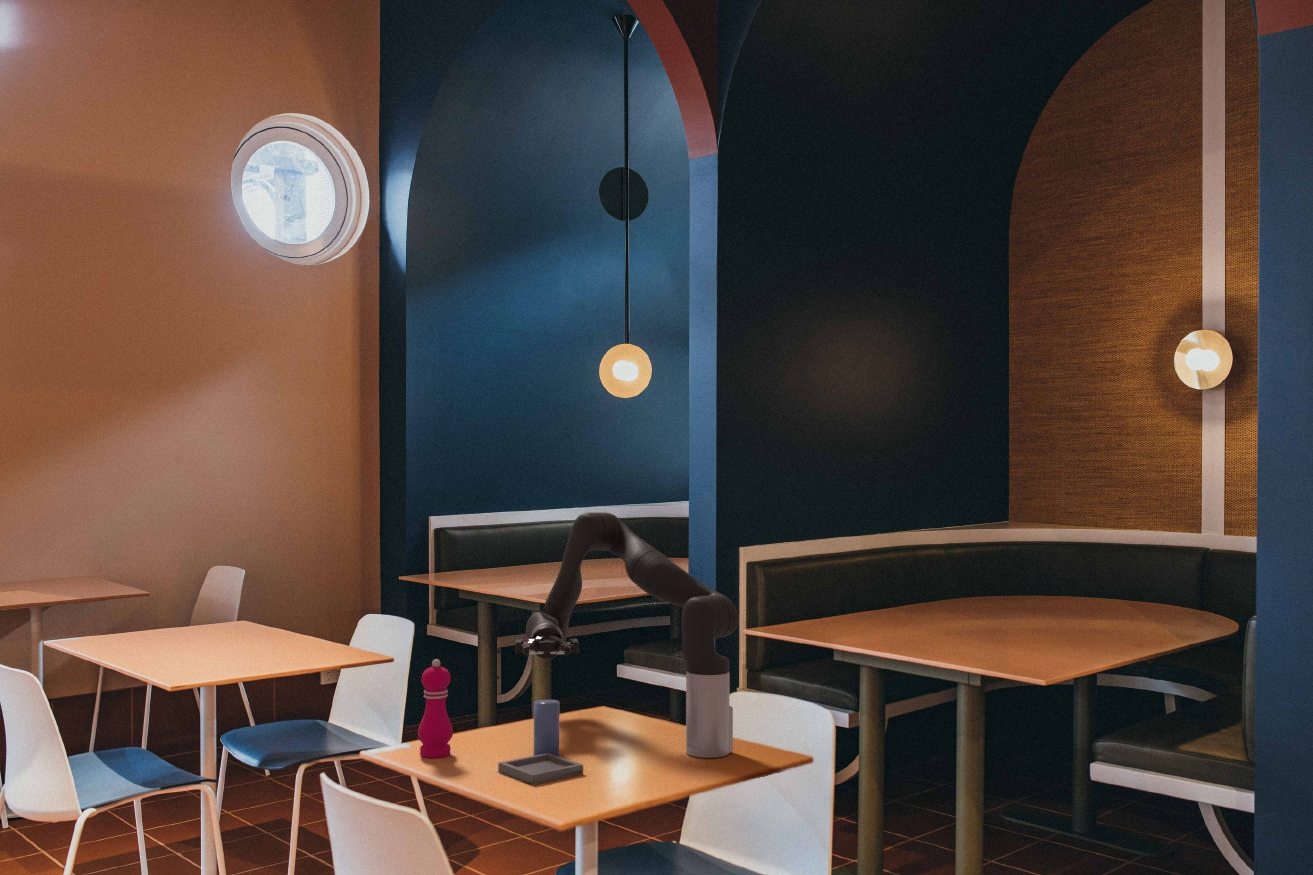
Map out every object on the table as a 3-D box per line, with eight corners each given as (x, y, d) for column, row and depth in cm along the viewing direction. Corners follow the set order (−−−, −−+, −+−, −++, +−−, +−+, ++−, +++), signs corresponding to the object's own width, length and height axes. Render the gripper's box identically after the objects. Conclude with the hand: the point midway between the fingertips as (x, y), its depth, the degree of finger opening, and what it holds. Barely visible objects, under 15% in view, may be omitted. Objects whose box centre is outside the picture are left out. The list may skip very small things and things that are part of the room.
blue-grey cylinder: (549, 749, 232) (549, 698, 232) (564, 754, 228) (564, 702, 228) (528, 754, 228) (528, 701, 229) (543, 759, 224) (543, 705, 224)
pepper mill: (459, 752, 229) (460, 657, 230) (438, 760, 223) (440, 662, 224) (431, 748, 232) (432, 655, 233) (410, 756, 226) (411, 660, 227)
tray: (548, 761, 222) (548, 752, 222) (583, 773, 213) (583, 764, 213) (498, 771, 214) (498, 762, 214) (532, 784, 205) (532, 775, 205)
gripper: (516, 624, 255) (514, 634, 239) (577, 623, 257) (579, 634, 240) (516, 656, 255) (514, 668, 239) (576, 655, 256) (578, 667, 240)
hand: (546, 651), depth 240 cm, fingers open, 8 cm apart
